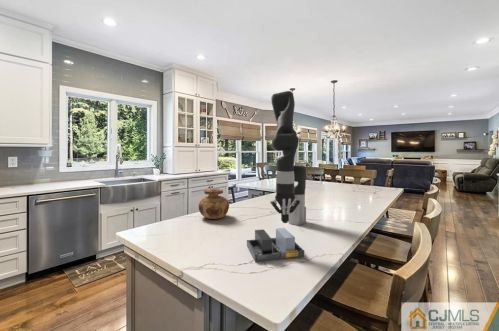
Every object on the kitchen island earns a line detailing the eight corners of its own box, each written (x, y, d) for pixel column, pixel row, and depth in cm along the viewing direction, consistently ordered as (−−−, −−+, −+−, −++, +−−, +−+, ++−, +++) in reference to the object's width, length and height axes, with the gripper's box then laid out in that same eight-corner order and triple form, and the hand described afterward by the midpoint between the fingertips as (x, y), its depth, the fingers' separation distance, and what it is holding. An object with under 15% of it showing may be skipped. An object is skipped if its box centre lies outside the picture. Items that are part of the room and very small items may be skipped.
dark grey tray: (289, 242, 113) (289, 226, 112) (304, 257, 97) (304, 238, 96) (246, 245, 109) (246, 229, 108) (255, 262, 93) (255, 243, 92)
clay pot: (236, 215, 148) (223, 185, 145) (207, 229, 144) (193, 199, 140) (229, 207, 167) (217, 181, 163) (203, 219, 162) (191, 193, 158)
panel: (284, 243, 110) (284, 227, 110) (294, 254, 99) (294, 237, 98) (275, 243, 109) (275, 228, 109) (285, 255, 98) (285, 238, 97)
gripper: (296, 180, 107) (296, 219, 108) (267, 181, 104) (267, 221, 105) (303, 182, 100) (303, 224, 101) (272, 183, 97) (272, 226, 98)
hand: (284, 222), depth 103 cm, fingers closed
